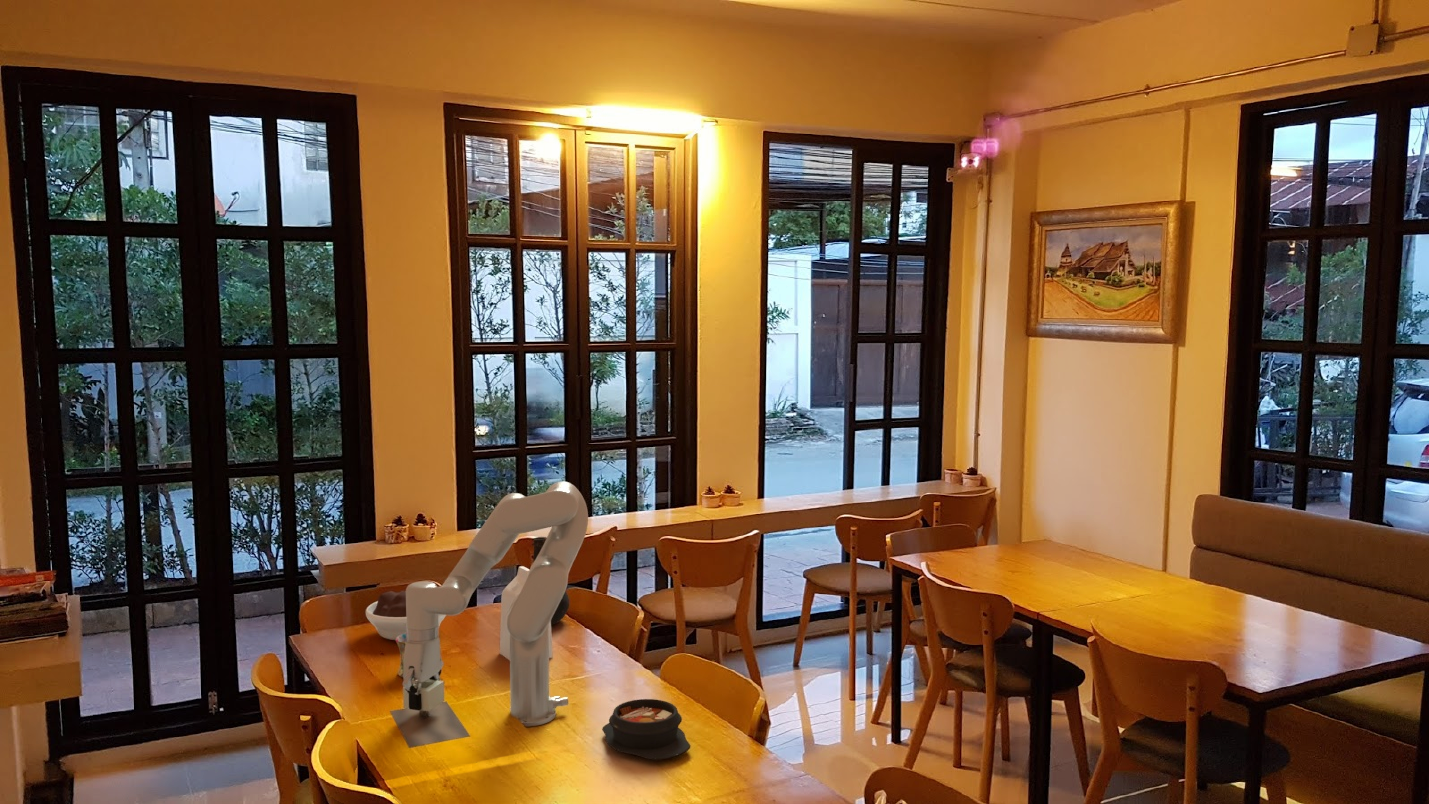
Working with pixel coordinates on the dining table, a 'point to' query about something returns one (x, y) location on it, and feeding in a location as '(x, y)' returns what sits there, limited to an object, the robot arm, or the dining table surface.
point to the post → (423, 714)
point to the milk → (506, 600)
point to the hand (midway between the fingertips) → (424, 703)
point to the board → (429, 725)
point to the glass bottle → (565, 601)
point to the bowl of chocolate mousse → (390, 614)
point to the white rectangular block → (427, 694)
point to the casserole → (646, 729)
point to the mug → (401, 650)
